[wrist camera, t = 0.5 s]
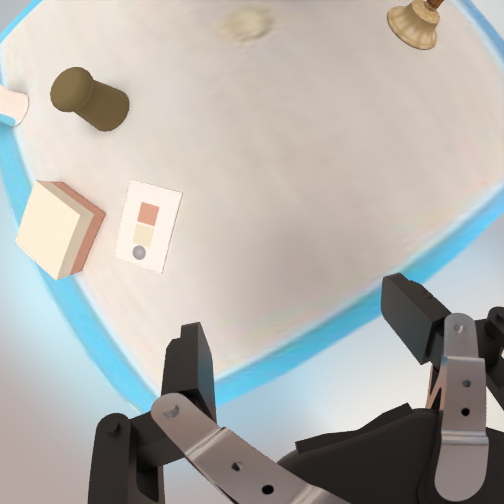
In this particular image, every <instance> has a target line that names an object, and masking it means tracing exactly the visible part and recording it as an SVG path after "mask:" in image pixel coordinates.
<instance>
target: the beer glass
mask: <svg viewBox="0 0 504 504" xmlns="http://www.w3.org/2000/svg"><path fill="white" fill-rule="evenodd" d="M28 104H29V99H28V96H27V95H26V94H25V93H20V92H13V91H10V90H8V89H7V88H5V87H4V86H2V85H1V84H0V122H2V123H4V124H6V125H8V126H10V127H15V126H17V125H18V124H19V123H20V122H21V121H22V120H23V118H24V116H25V114H26V112H27V109H28Z"/></svg>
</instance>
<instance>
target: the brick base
mask: <svg viewBox="0 0 504 504" xmlns="http://www.w3.org/2000/svg"><path fill="white" fill-rule="evenodd" d="M105 214H106V213H105V212H104V211H102V210H101V209H99V208H98V207H96V206H95V205H94V204H92V203H91V202H89V201H88V200H87V199H85V198H84V197H82V196H81V195H80V194H78V193H77V192H75V191H74V190H73V189H71V188H70V187H68V186H67V185H66V184H64V183H63V182H51V181H35V184H34V186H33V189H32V191H31V194H30V197H29V200H28V203H27V205H26V208H25V211H24V215H23V218H22V221H21V224H20V227H19V231H18V234H17V238H16V241H15V242H16V243H17V245H18V246H19V247H20V248H21V249H23V250H24V251H25V252H26V253H27V254H28V255H29V256H30V257H31V258H32V259H33V260H34V261H35V262H36V263H37V264H38V265H39V266H41V267H42V268H43V269H44V270H45V271H46V272H47V273H48V274H49V275H51V276H52V277H53V278H54V279H55V280H59V279H61V278H64V277H66V276H69V275H71V274H74V273H77V272H79V271H82V268H83V266H84V263H85V261H86V258H87V256H88V253H89V251H90V248H91V246H92V244H93V241H94V239H95V237H96V234H97V232H98V230H99V227H100V225H101V223H102V221H103V219H104V216H105Z"/></svg>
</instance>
